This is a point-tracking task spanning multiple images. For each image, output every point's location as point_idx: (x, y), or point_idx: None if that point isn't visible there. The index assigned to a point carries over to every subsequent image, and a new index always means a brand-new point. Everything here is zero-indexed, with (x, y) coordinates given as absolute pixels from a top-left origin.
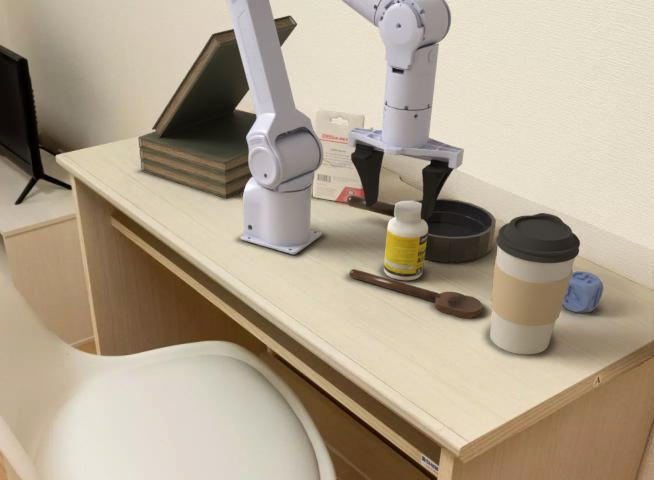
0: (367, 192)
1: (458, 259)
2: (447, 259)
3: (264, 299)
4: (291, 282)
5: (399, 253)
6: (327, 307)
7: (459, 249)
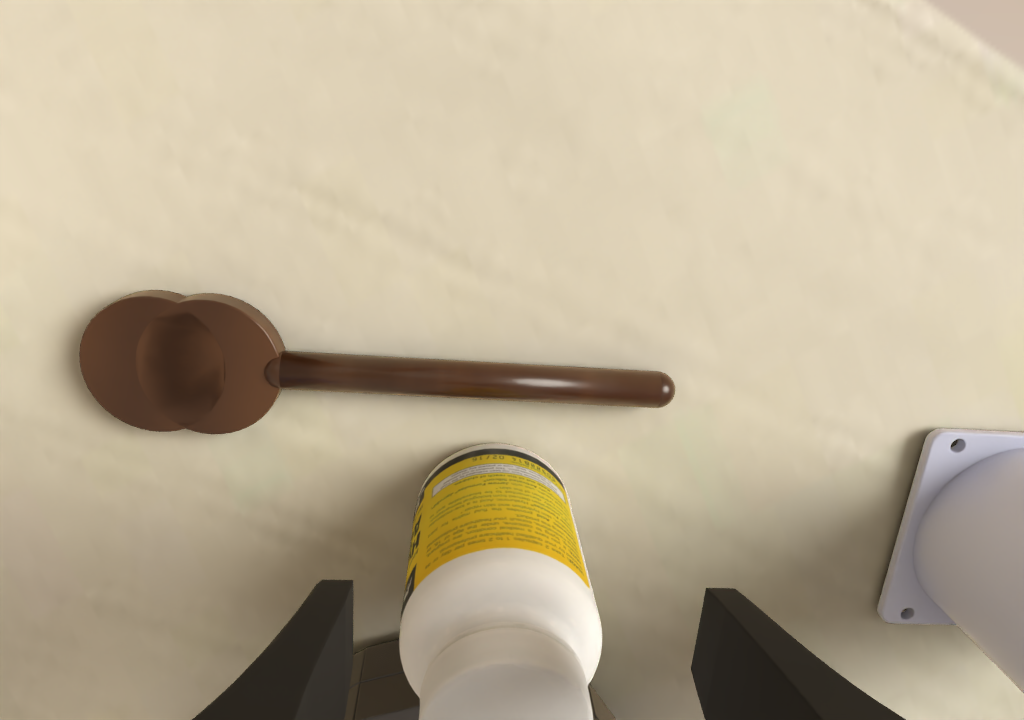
0: (766, 638)
1: None
2: (366, 651)
3: (933, 31)
4: (870, 225)
5: (493, 499)
6: (663, 101)
7: None
